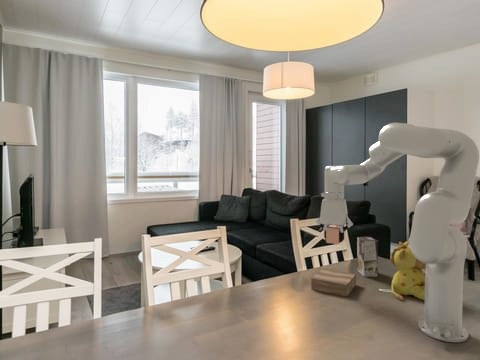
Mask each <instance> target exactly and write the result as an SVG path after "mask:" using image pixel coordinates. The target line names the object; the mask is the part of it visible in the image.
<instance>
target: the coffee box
mask: <svg viewBox="0 0 480 360" xmlns="http://www.w3.org/2000/svg"><path fill="white" fill-rule="evenodd" d="M356 239H357V241H356V246H357V247H356V252H357V253H356V254H357V255H356V257H357V258H356V262H357V263H356V270H357V272H358V273H359V274H360V275H361V276H363V277H366V278H377V277H378V274H379V273H378V272H379V240H377V239H375V238H373V237H372V236H357V237H356Z"/></svg>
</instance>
